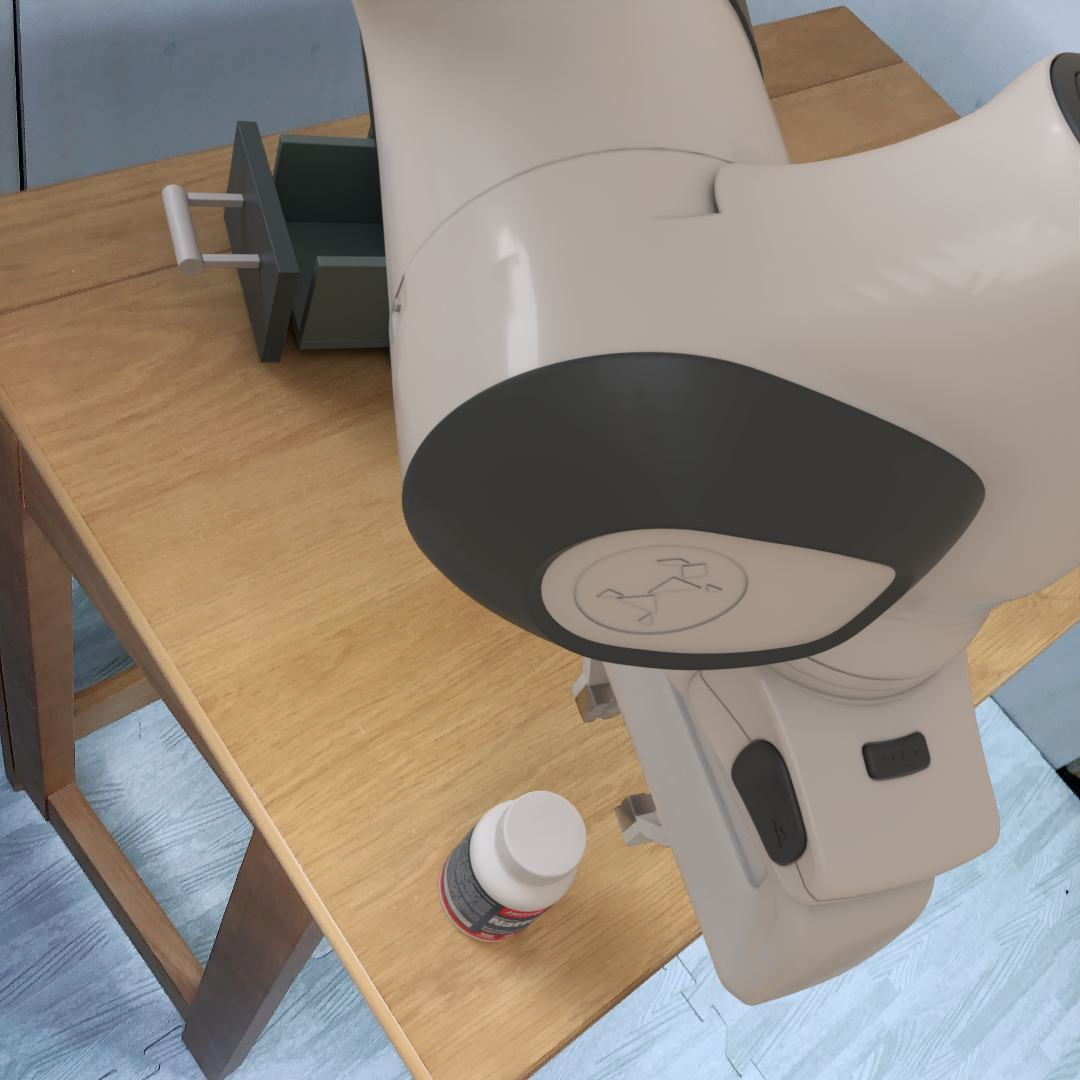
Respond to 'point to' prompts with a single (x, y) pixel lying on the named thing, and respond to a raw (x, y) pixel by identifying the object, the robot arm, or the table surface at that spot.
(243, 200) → the drawer
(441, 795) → the table surface
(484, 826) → the pill bottle
